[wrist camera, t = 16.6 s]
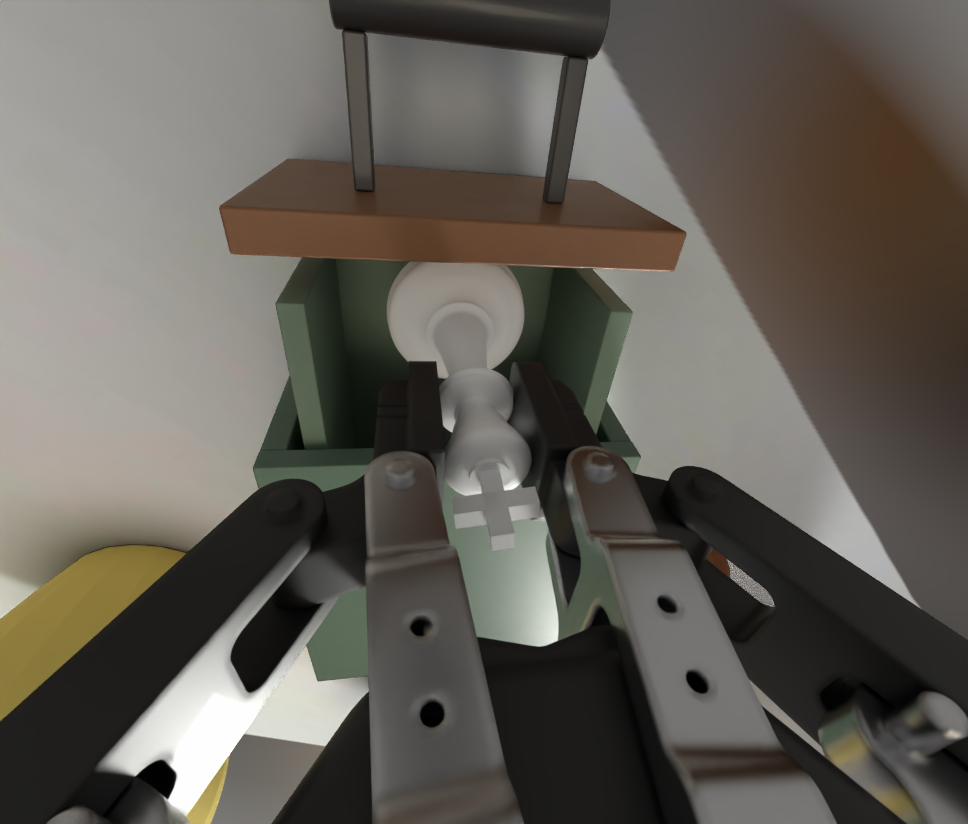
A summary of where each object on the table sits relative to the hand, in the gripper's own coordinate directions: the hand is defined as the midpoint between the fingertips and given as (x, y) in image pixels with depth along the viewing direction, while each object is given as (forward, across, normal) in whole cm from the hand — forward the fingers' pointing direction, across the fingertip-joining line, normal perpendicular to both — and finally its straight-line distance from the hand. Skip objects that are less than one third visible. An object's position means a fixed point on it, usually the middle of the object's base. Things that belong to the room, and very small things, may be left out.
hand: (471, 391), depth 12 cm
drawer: (+10, 0, +1) cm, 10 cm away
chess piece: (+5, 0, 0) cm, 5 cm away
